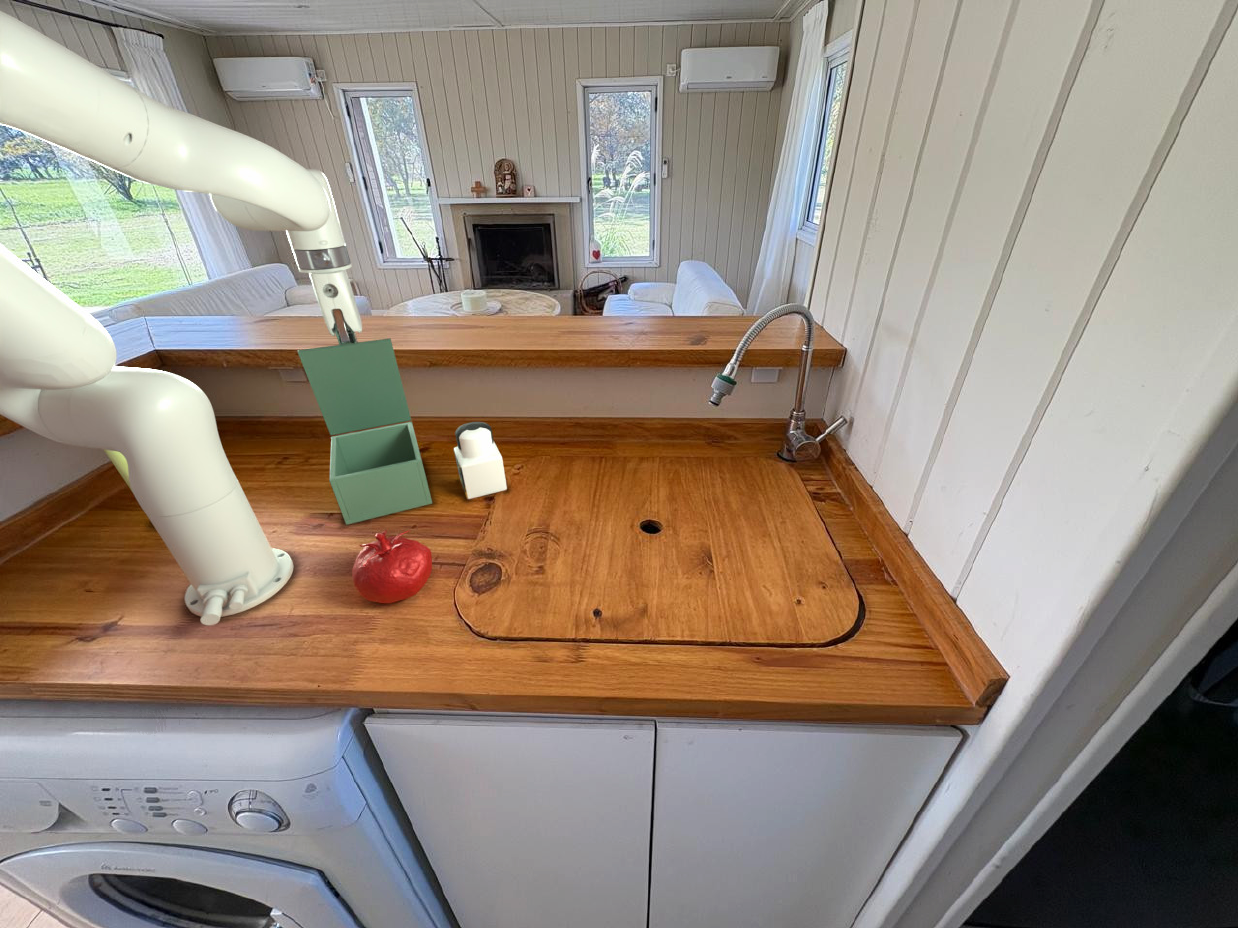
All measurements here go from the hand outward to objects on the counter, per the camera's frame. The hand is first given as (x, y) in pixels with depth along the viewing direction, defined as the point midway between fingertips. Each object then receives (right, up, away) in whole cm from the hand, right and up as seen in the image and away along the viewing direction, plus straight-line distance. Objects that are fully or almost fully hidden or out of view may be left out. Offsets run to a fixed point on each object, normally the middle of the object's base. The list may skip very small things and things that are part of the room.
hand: (356, 368), depth 88 cm
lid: (+2, -4, -3) cm, 6 cm away
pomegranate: (+16, -34, -19) cm, 42 cm away
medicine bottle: (+22, -21, +3) cm, 30 cm away
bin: (+5, -22, +1) cm, 22 cm away
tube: (-28, -26, -5) cm, 39 cm away
